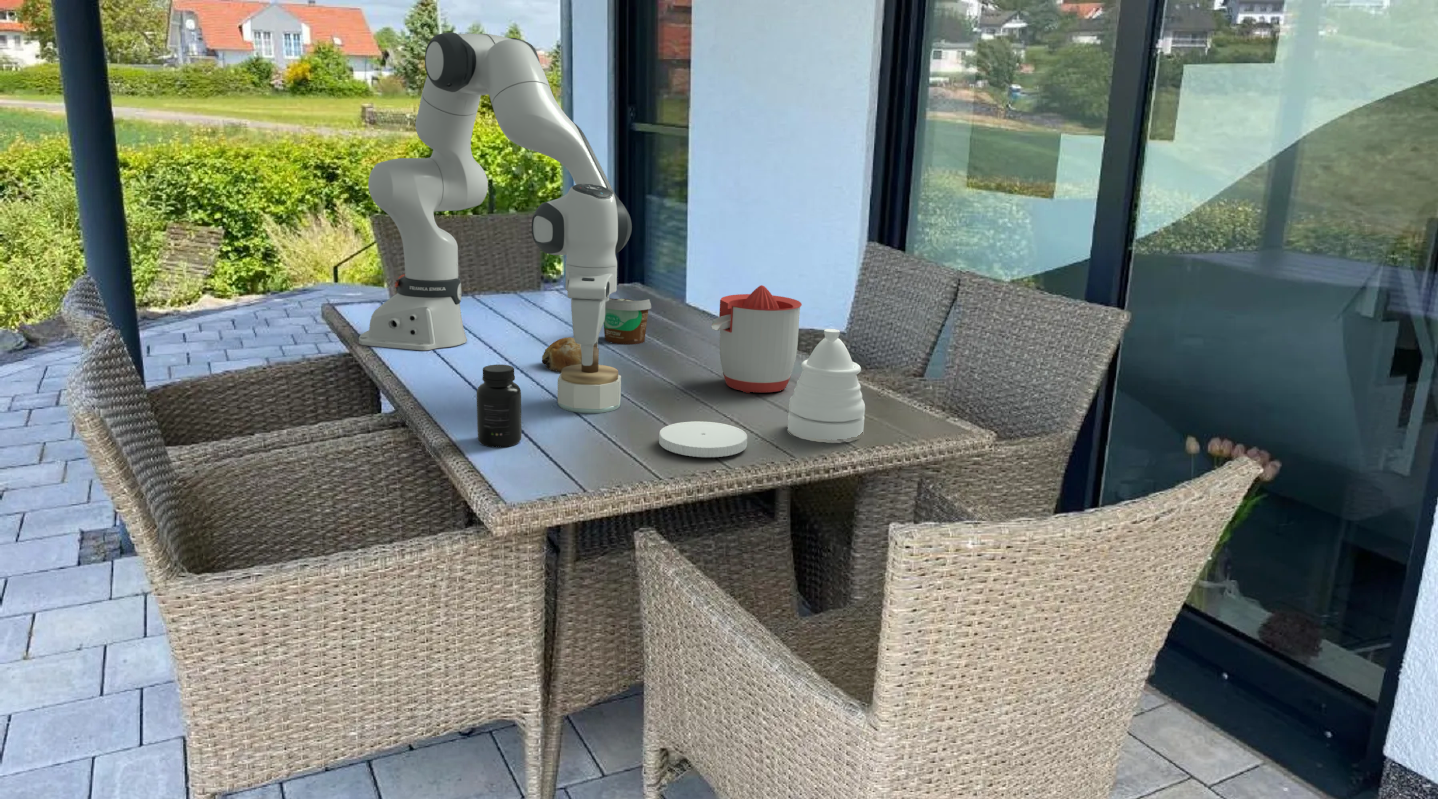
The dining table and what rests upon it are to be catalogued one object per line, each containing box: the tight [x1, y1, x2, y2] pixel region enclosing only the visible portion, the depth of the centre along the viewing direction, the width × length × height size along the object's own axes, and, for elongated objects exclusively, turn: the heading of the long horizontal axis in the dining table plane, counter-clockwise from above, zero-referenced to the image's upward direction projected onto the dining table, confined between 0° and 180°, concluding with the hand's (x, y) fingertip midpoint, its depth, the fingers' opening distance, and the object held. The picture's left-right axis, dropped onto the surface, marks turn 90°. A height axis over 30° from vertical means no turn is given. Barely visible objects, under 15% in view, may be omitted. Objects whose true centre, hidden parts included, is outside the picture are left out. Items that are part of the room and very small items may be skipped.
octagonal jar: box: [557, 373, 622, 414], centre depth 192 cm, size 11×11×5 cm
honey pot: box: [787, 328, 866, 440], centre depth 181 cm, size 13×13×18 cm
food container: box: [603, 297, 652, 345], centre depth 241 cm, size 12×6×10 cm, turn 68°
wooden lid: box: [560, 347, 619, 385], centre depth 191 cm, size 10×10×5 cm
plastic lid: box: [658, 420, 748, 458], centre depth 172 cm, size 14×14×2 cm
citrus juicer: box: [710, 285, 803, 394], centre depth 207 cm, size 16×17×20 cm
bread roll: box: [541, 336, 582, 373], centre depth 218 cm, size 10×10×8 cm
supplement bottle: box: [476, 364, 522, 448], centre depth 168 cm, size 7×7×12 cm
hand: (589, 358), depth 190 cm, fingers open, 8 cm apart
